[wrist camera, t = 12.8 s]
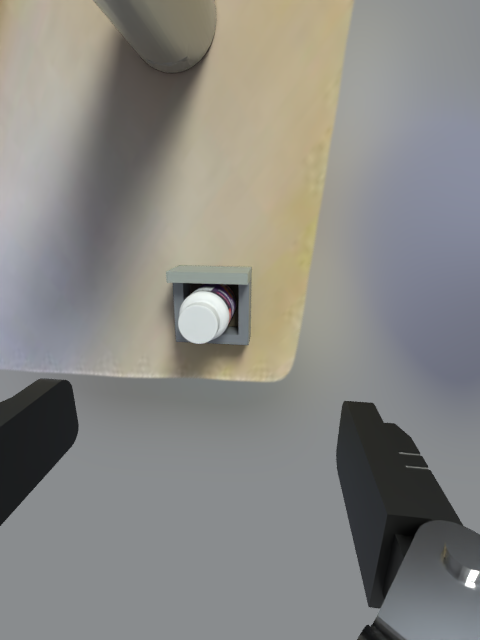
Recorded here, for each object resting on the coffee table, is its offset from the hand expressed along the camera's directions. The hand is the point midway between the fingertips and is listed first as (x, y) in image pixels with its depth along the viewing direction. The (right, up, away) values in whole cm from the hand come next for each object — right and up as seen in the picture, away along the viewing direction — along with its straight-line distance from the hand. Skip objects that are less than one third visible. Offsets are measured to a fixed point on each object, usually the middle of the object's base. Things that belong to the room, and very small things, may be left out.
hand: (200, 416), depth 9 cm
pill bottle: (-2, +5, +31) cm, 32 cm away
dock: (-2, +5, +31) cm, 32 cm away
